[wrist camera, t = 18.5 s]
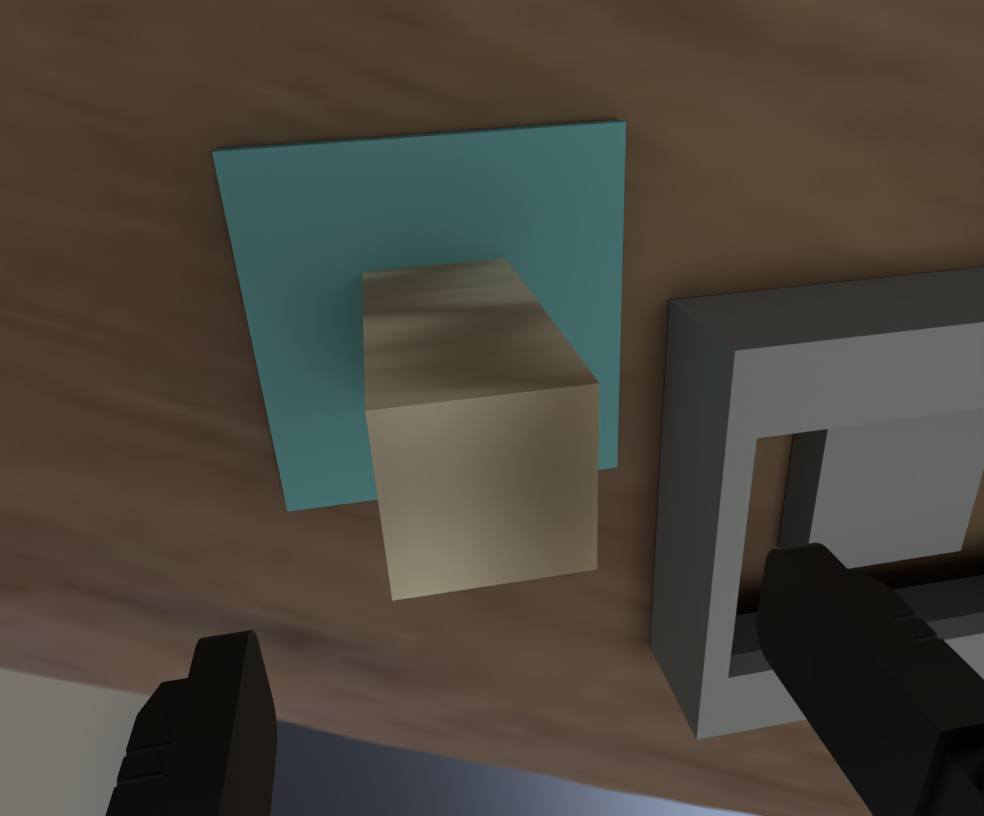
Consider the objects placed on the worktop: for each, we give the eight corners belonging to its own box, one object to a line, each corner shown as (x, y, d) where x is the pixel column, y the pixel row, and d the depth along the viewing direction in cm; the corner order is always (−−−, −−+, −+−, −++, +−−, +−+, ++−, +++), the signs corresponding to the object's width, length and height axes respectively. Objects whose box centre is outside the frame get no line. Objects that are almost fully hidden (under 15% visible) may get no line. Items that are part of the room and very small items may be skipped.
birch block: (379, 403, 24) (392, 600, 16) (362, 271, 22) (365, 411, 14) (511, 388, 25) (597, 569, 16) (505, 258, 23) (599, 383, 14)
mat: (289, 499, 26) (287, 511, 26) (216, 148, 21) (212, 151, 20) (610, 456, 28) (617, 467, 27) (617, 119, 23) (626, 121, 22)
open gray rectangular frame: (649, 646, 32) (696, 739, 28) (669, 299, 25) (735, 350, 21) (1012, 585, 35) (1109, 663, 30) (1122, 252, 28) (1268, 288, 23)
